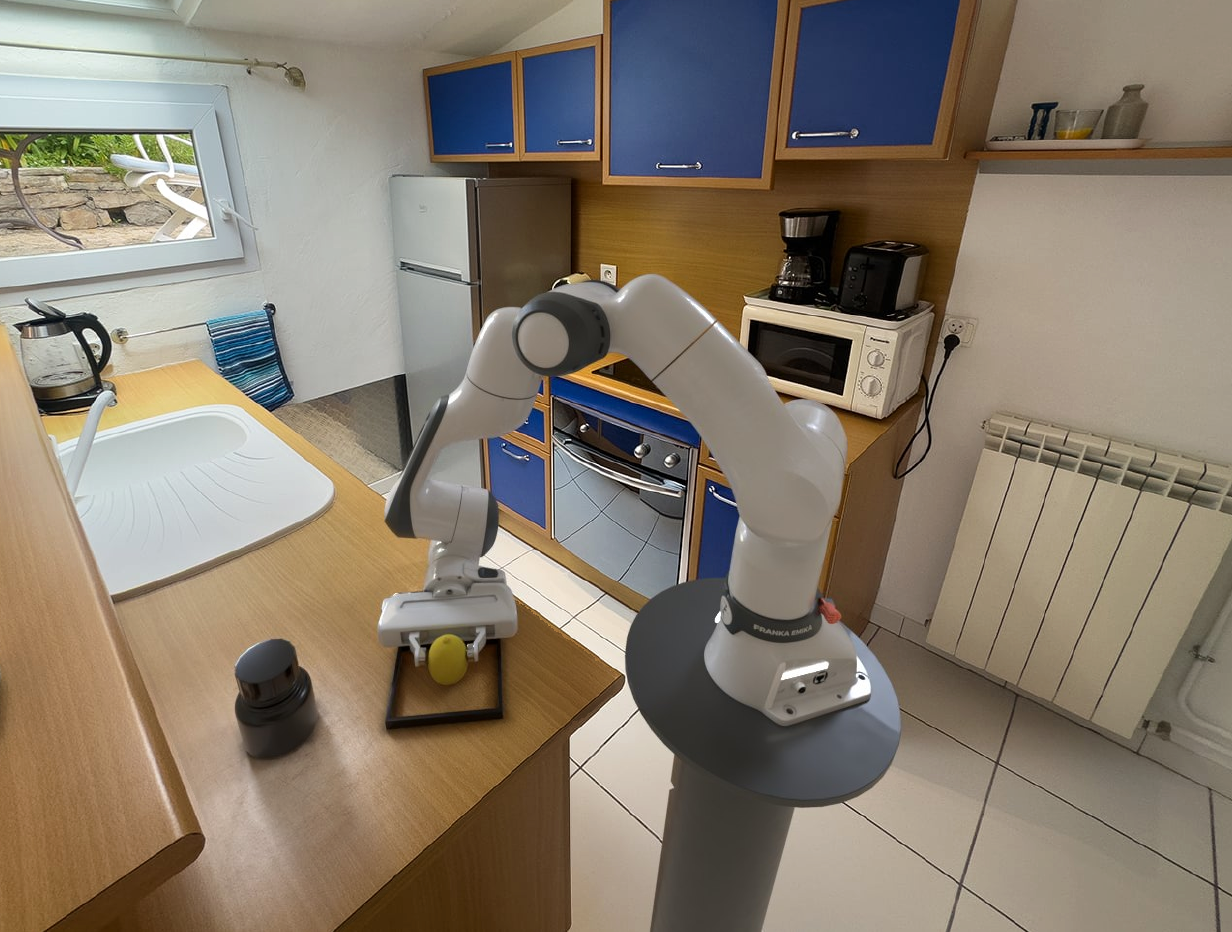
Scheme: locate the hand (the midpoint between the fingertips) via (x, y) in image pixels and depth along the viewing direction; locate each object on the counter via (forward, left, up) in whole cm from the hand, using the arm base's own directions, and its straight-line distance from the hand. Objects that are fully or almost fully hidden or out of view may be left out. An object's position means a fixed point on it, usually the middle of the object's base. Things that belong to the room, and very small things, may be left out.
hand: (446, 660), depth 79 cm
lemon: (0, -1, -5) cm, 5 cm away
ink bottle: (+21, +4, -5) cm, 22 cm away
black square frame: (0, -1, -5) cm, 5 cm away
